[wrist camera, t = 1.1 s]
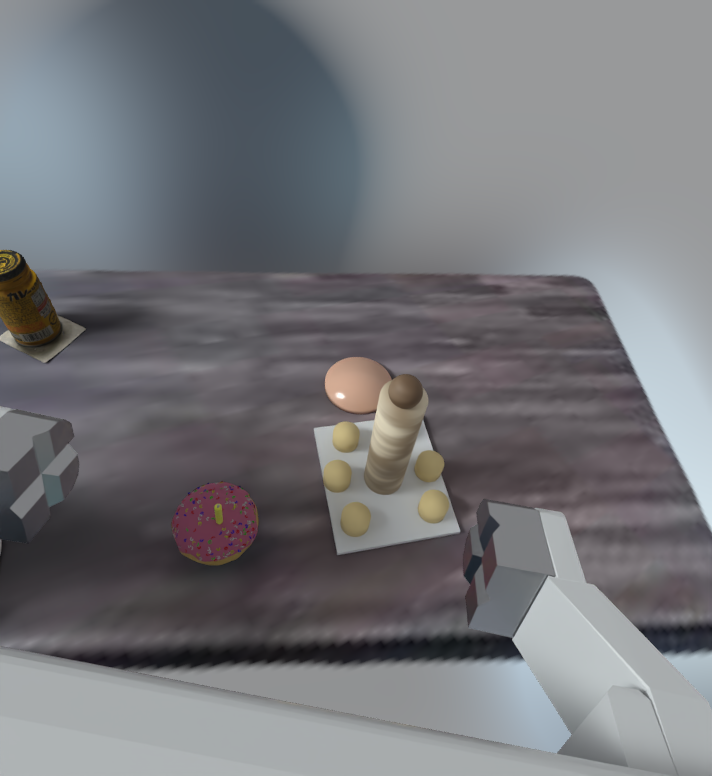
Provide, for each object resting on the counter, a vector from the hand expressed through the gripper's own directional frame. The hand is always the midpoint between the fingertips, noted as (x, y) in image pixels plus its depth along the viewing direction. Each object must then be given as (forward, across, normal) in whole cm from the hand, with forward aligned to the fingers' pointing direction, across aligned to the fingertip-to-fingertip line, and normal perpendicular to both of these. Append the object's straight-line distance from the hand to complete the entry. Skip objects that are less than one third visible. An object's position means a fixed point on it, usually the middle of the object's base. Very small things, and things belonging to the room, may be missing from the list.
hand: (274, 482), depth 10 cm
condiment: (+52, -42, -32) cm, 74 cm away
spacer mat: (+39, +6, -35) cm, 53 cm away
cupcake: (+30, -10, -39) cm, 50 cm away
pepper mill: (+39, +6, -34) cm, 52 cm away
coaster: (+52, +1, -31) cm, 60 cm away
